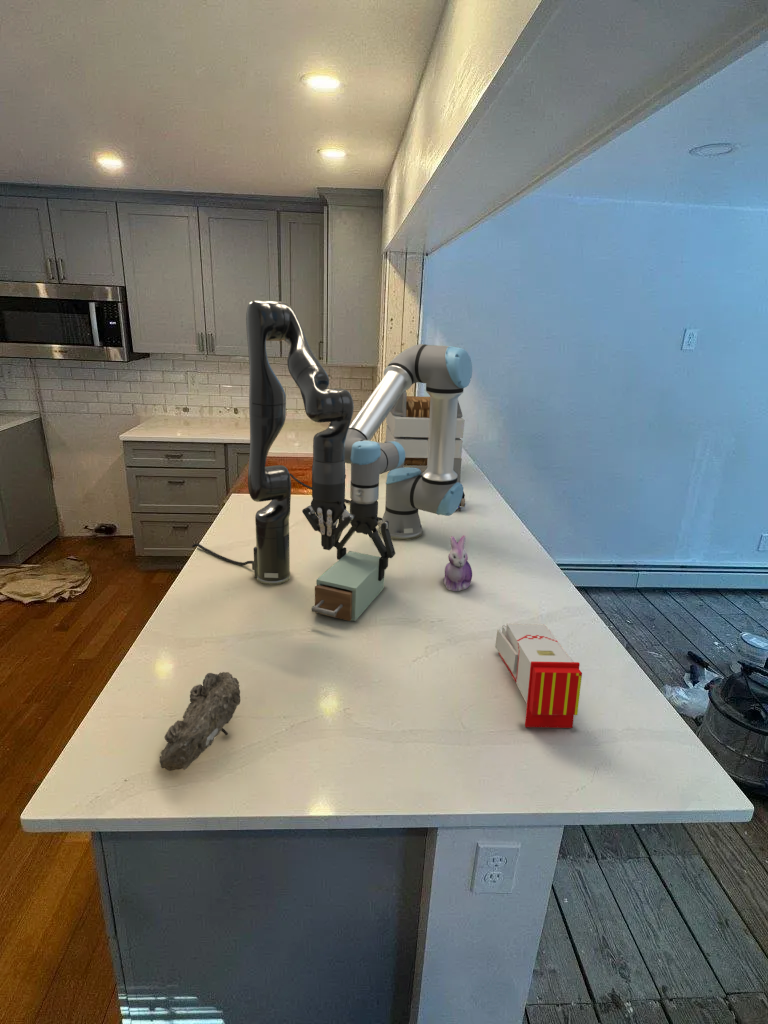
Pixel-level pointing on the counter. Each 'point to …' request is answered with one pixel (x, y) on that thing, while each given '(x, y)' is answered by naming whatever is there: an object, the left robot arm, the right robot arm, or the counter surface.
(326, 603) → the drawer
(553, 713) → the toy
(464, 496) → the figurine character
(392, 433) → the white wooden crate
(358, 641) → the counter surface
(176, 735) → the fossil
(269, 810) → the counter surface
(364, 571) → the cabinet
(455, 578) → the figurine
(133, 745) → the counter surface
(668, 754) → the counter surface
